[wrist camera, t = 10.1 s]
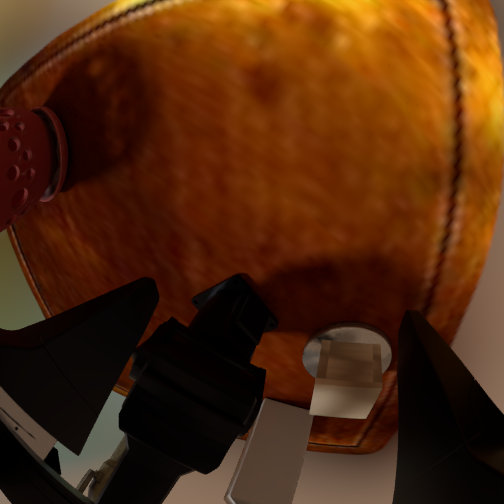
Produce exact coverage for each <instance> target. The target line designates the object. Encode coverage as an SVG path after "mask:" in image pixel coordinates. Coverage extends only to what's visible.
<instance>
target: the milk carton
mask: <svg viewBox="0 0 504 504" xmlns="http://www.w3.org/2000/svg"><path fill="white" fill-rule="evenodd" d="M309 412H310V410H306V409H302V408H298V407H295V406H291V405H288V404H284V403H281V402H277V401H274V400H270V399H267V398H265V399H264V401H263V403H262V404H261V408H260V411H259V414H258V416H257V418H256V420H255V422H254V423H253V425H252V427H251V430H250V432H249V435H248V438H247V440H246V443H245V446H244V448H243V451H242V454H241V456H240V459H239V462H238V464H237V467H236V469H235V472H234V474H233V477H232V479H231V482H230V484H229V487H228V489H227V491H226V494H225V496H224V500H225V502H226V503H227V504H292V501H293V497H294V494H295V490H296V487H297V483H298V480H299V476H300V472H301V468H302V464H303V461H304V456H305V452H306V448H307V444H308V439H309V435H310V430H311V426H312V421H313V416H314V415H311V414H309Z"/></svg>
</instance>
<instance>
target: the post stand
mask: <svg viewBox="0 0 504 504" xmlns="http://www.w3.org/2000/svg"><path fill="white" fill-rule="evenodd" d="M322 340H329V341H340V342H352V343H366V344H381V360H382V374H383V373H384V372H385V371H386V369H387V368H388V366H389V365H390V362H391V358H392V353H391V345H390V341H389V339H388V338H387V336H386V335H385V334H384V333H383V332H382V331H381V330H379V329H377V328H376V327H374V326H371V325H368V324H365V323H359V322H341V323H336V324H332V325H328V326H326V327H324V328H321V329H320V330H318V331H316V332H315V333H314V334H313V335H312V336H311V337H310V338H309V339H308V341H307V342H306V344H305V348H304V353H303V364H304V366H305V368H306V370H307V371H308V372H309V373H310V374H311V375H312V376H313V377H314V378H316V375H317V369H318V363H319V357H320V351H321V344H322Z"/></svg>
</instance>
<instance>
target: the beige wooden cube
mask: <svg viewBox="0 0 504 504" xmlns="http://www.w3.org/2000/svg"><path fill="white" fill-rule="evenodd" d="M381 390H382V360H381V344H366V343H352V342H340V341H329V340H322V344H321V351H320V357H319V363H318V369H317V375H316V381H315V386H314V392H313V397H312V402H311V407H310V412H309V414H311V415H320V416H330V417H341V418H358V419H366V418H367V416H368V414H369V412H370V411H371V409H372V407H373V405H374V403H375V401H376V400H377V398H378V396H379V394H380V392H381Z"/></svg>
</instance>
